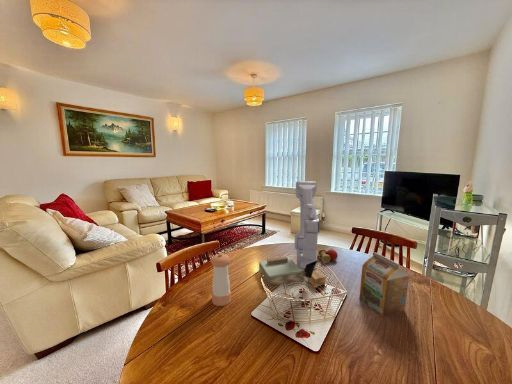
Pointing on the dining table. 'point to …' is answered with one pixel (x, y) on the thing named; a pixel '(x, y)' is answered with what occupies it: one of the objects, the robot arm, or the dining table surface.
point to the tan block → (317, 278)
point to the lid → (279, 267)
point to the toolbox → (280, 278)
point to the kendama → (327, 255)
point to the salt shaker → (221, 280)
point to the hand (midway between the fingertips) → (308, 276)
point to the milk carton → (383, 285)
